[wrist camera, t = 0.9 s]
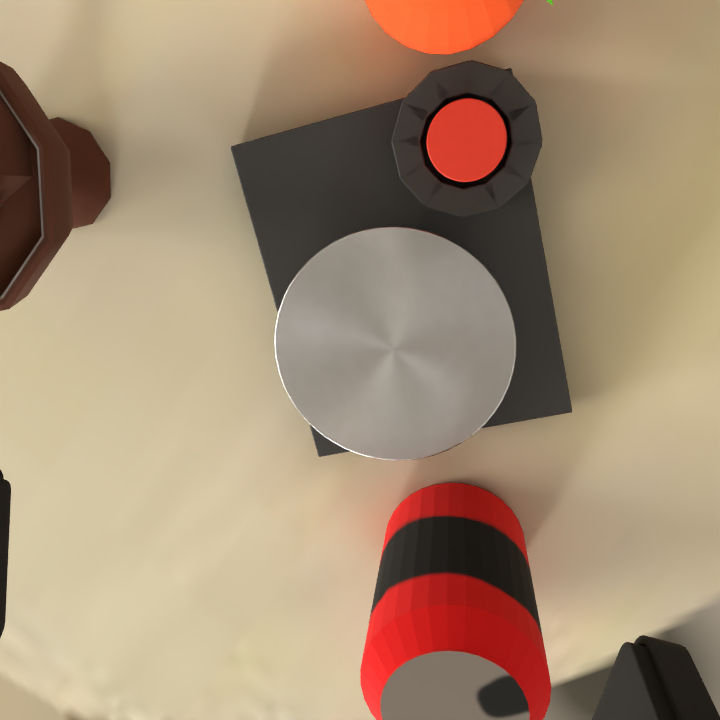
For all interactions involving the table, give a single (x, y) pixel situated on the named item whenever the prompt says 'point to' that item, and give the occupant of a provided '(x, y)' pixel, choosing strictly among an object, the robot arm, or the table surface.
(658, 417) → the table surface
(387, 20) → the clementine
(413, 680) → the soda can
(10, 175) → the ice cream bowl
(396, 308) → the pan
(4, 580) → the robot arm
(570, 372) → the table surface
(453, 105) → the button
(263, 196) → the scale
